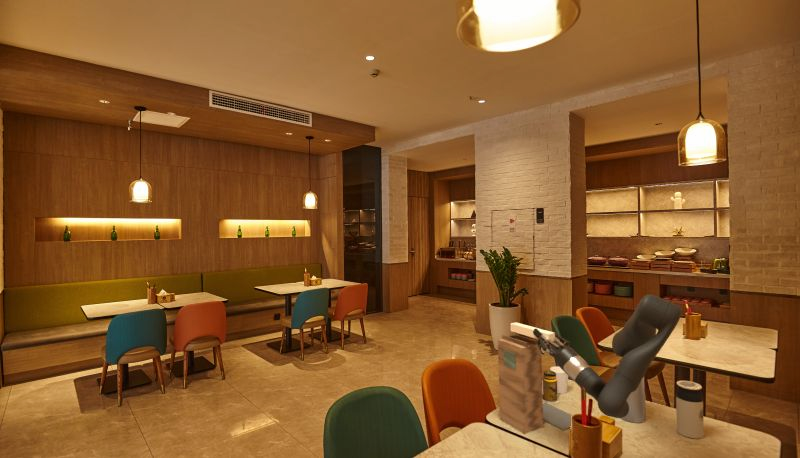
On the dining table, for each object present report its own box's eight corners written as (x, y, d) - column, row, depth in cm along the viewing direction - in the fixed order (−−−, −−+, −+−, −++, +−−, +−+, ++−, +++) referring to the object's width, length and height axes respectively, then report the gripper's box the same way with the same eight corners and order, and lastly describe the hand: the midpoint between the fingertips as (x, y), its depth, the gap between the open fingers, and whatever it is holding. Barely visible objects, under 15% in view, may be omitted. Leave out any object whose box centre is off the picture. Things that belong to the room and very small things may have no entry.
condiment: (559, 403, 173) (558, 375, 172) (538, 401, 175) (537, 374, 175) (557, 396, 180) (557, 369, 179) (537, 394, 182) (537, 368, 182)
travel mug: (671, 431, 148) (670, 382, 147) (685, 426, 151) (684, 378, 151) (694, 441, 140) (693, 390, 140) (708, 436, 143) (707, 386, 143)
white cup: (571, 394, 181) (571, 372, 181) (554, 394, 181) (553, 372, 181) (564, 387, 189) (564, 366, 189) (548, 387, 189) (547, 366, 189)
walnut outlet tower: (518, 413, 165) (516, 332, 164) (543, 426, 153) (541, 339, 153) (499, 419, 160) (497, 336, 159) (523, 434, 148) (521, 344, 148)
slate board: (545, 403, 172) (545, 402, 172) (584, 422, 156) (584, 420, 156) (525, 410, 167) (525, 409, 167) (563, 430, 150) (563, 429, 150)
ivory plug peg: (516, 329, 160) (516, 322, 160) (555, 341, 143) (554, 332, 143) (510, 330, 158) (510, 323, 158) (549, 342, 141) (548, 334, 141)
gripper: (591, 352, 136) (554, 319, 149) (562, 360, 130) (527, 324, 143) (581, 368, 140) (547, 334, 153) (554, 376, 133) (520, 340, 146)
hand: (537, 329), depth 148 cm, fingers closed on ivory plug peg, 3 cm apart
